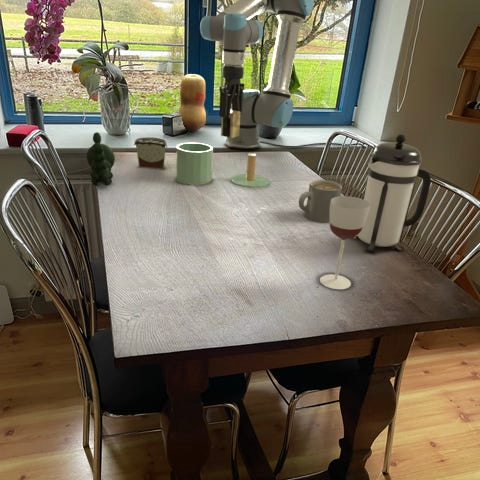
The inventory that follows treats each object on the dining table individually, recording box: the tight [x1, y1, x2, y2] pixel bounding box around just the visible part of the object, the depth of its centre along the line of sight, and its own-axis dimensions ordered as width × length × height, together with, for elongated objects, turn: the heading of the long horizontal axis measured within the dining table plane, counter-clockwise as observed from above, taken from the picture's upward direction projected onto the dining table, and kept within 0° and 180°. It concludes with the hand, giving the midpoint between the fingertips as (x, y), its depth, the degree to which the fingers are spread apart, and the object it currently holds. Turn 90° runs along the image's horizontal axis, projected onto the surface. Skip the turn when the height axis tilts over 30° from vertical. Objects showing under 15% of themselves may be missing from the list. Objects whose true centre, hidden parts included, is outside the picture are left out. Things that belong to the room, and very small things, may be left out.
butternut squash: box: [177, 73, 207, 132], centre depth 236 cm, size 14×13×25 cm
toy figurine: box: [86, 131, 116, 186], centre depth 168 cm, size 9×19×25 cm
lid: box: [230, 152, 270, 188], centre depth 178 cm, size 14×14×10 cm
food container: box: [133, 136, 168, 170], centre depth 188 cm, size 12×6×10 cm, turn 84°
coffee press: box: [351, 134, 432, 254], centre depth 134 cm, size 17×16×30 cm
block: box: [220, 109, 240, 138], centre depth 183 cm, size 5×5×8 cm
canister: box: [175, 142, 214, 186], centre depth 177 cm, size 13×13×12 cm
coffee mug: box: [298, 179, 343, 223], centre depth 154 cm, size 13×10×10 cm
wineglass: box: [319, 195, 370, 290], centre depth 115 cm, size 8×9×20 cm
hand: (230, 134), depth 185 cm, fingers closed on block, 5 cm apart
